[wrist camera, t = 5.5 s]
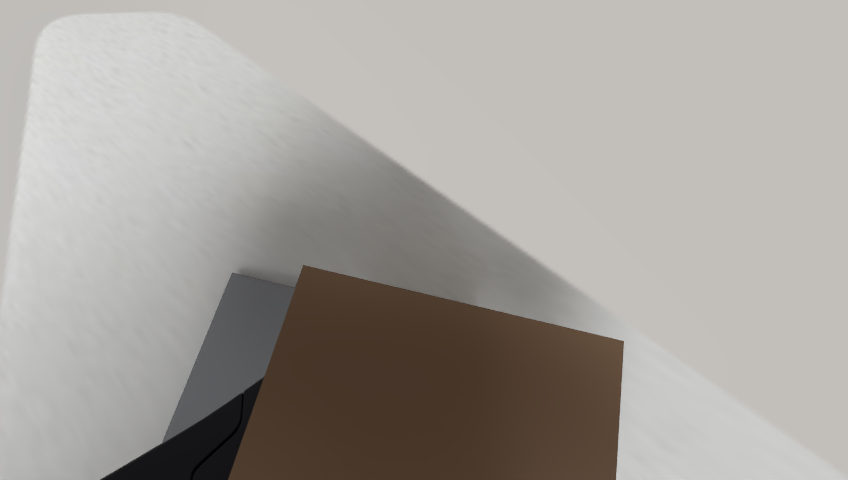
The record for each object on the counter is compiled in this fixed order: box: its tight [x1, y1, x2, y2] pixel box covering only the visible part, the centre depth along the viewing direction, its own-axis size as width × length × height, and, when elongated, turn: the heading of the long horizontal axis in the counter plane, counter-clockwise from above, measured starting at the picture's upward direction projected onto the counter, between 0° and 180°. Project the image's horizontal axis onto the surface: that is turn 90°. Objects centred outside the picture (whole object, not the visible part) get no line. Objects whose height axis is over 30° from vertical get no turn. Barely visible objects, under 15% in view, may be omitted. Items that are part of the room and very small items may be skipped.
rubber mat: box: [162, 273, 295, 443], centre depth 16 cm, size 11×7×1 cm, turn 167°
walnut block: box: [228, 265, 624, 480], centre depth 9 cm, size 4×4×12 cm
